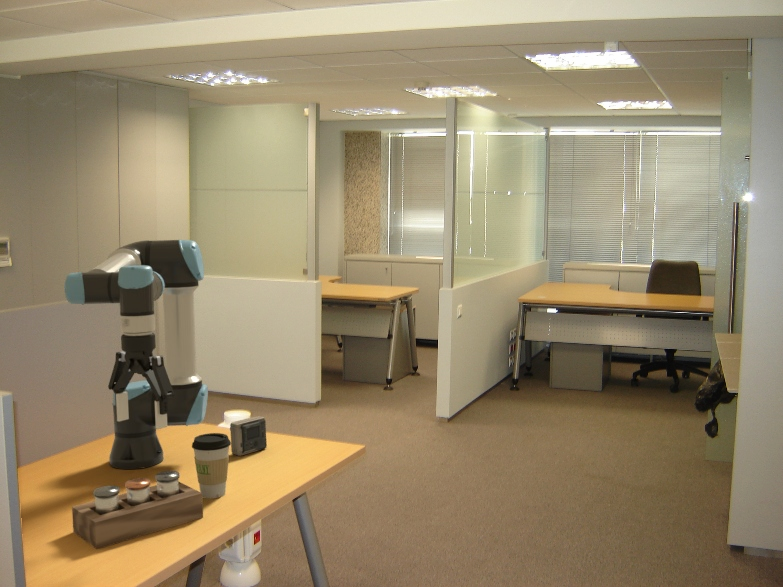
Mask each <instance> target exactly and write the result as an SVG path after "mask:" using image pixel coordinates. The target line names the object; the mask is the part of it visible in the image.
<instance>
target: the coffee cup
mask: <svg viewBox="0 0 783 587" xmlns="http://www.w3.org/2000/svg"><path fill="white" fill-rule="evenodd" d="M193 439H194V440H193V442H192V444H191V448H192V449H193V452H194V457H193V458H194V462H195V469H196V475H197V482H198V485H199V492H201V493H202V499H219V498H221V497H223V496H224V495H226V488H227V481H228V471H229V459H230V454H229V451H230V447H231V439H230V438H229V436H228V434H225V433H220V432H219V433H218V432H213V433H212V432H211V433H203V434H199V435H196V436H195V437H194V438H193Z"/></svg>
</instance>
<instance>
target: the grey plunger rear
mask: <svg viewBox="0 0 783 587" xmlns="http://www.w3.org/2000/svg"><path fill="white" fill-rule="evenodd" d="M179 478H180V472H178V470H177V471H176V470H165V471H160V472H157V473H156V474H155V475H154V480H155V481H156V485H157V496H159V497H161V498H165V497H169V496H173V495H177V494H179V482H180V481H179ZM178 481H179V482H178Z"/></svg>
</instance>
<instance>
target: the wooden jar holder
mask: <svg viewBox="0 0 783 587" xmlns="http://www.w3.org/2000/svg"><path fill="white" fill-rule="evenodd" d="M178 482H179V494H177V495H173V496H169V497H165V498H161V497H159V496H157V484H156V485H150V486H149V495H150V502H147V503H143V504H139V505H136V506H130V505H129V504H127V492H124V493H121V494H120V493H119V494H118V498H119V510H117V511H113V512H110V513H106V514H102V515H99V514H97V513H96V507H95V500H94V501H89V502H85V503H82V504H77V505H73V506H72V507H71V515H72V531H73V533H74V534H75V535H77V536H78V537H79V538H81V539H82V540H84V541H85V542H86V543H88V544H89V546H91V547H93V548H95V549H96V550H98V549H102V548H104V547H108V546H109V547H110V546H112V545H114V544H118V543H122V542H126V541H128V540H129V541H130V540H132V539H135V538H138V537H139V538H140V537H142V536H145V535H149V534H152V533H155V532H159V531H163V530H166V529H169V528H172V527H175V526H176V527H177V526H180V525H183V524H186V523H188V522H192V521H197V520H199V519H200V520H201V519H202V518H204V509H203V508H204V504H203V497H202V493H201V492H200V490H199V491H198V490H197V489H196V488H195V489H194V488H193V487H191V486H189V485H187V484H184V483H182V482H180V481H179V480H178Z"/></svg>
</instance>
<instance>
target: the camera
mask: <svg viewBox="0 0 783 587" xmlns="http://www.w3.org/2000/svg"><path fill="white" fill-rule="evenodd" d="M229 431H230V442H231V445H230V447H231V449H230V450H231V454H232V455H235V456H238V457H240V456H241V457H242V456H243V455H248V454H250V453H254V452H255V453H256V452H258V451H261V450H265V449H267V447H268V445H267V428H266V419H265V417H264V416H259V415H258V416H253V417H248V418H244V419H240V420H235V421H232V422H231V423H230V424H229Z"/></svg>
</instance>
